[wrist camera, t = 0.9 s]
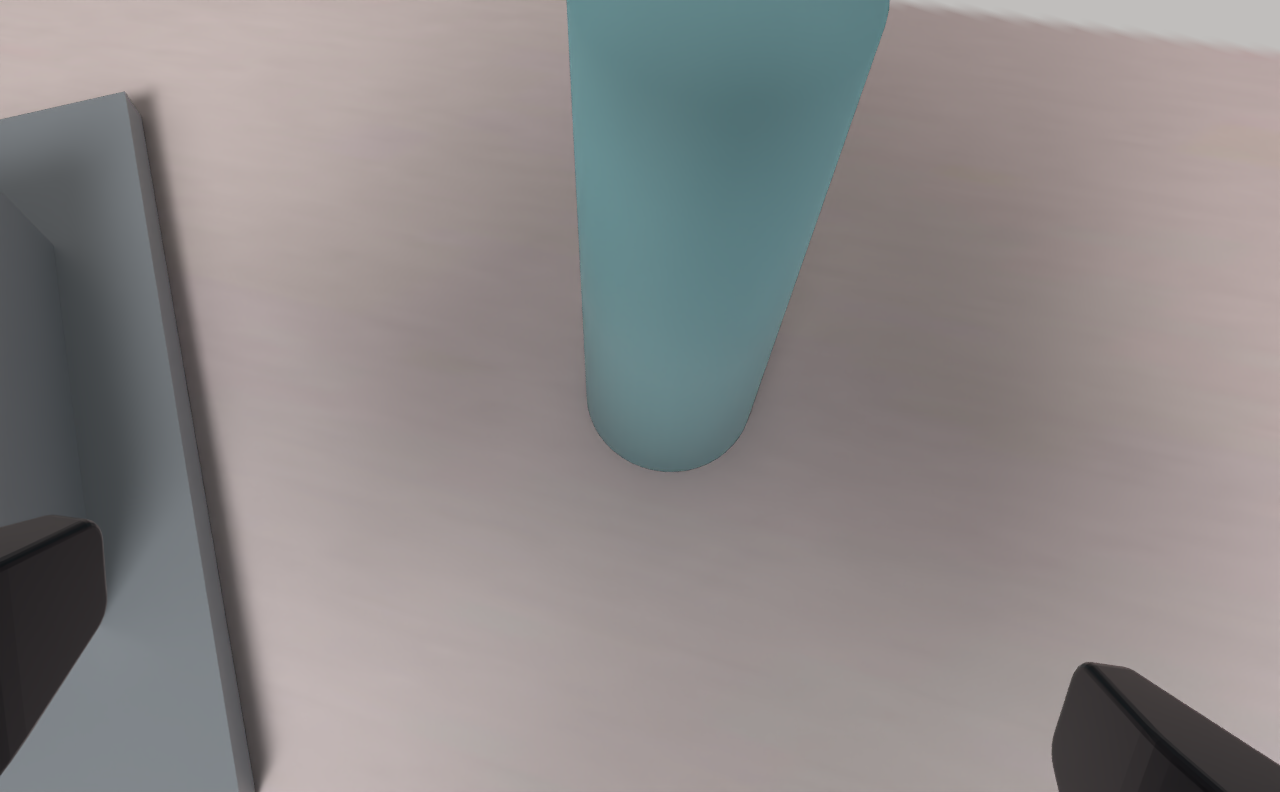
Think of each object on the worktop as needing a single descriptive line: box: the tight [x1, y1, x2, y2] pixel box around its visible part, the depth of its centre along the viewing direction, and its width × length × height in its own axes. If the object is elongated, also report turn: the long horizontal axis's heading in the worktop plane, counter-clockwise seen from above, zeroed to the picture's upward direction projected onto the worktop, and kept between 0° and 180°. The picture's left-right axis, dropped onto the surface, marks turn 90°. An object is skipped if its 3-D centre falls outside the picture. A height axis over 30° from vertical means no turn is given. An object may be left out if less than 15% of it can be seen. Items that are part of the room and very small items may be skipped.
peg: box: [567, 0, 889, 472], centre depth 18 cm, size 4×4×13 cm
